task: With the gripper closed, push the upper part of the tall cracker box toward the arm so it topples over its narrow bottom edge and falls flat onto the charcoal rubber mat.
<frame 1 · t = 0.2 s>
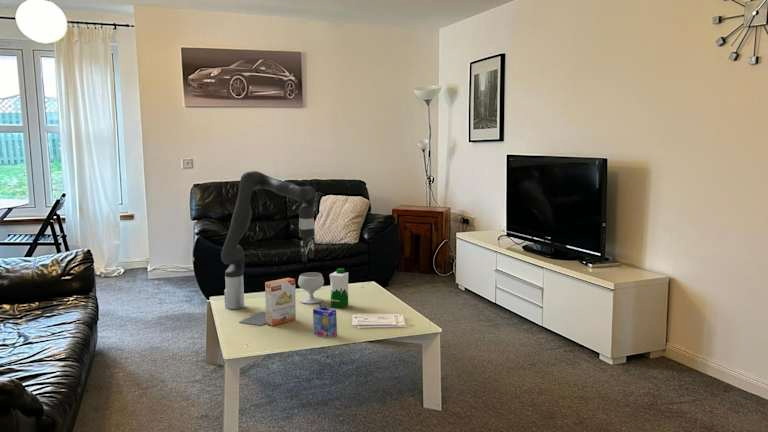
hand: (307, 259, 283), 30 cm above the table, fingers open, 8 cm apart
mat: (261, 319, 285), on the table
milk carton: (339, 306, 305), on the table
chalice: (311, 301, 316), on the table
cracker box: (281, 322, 280), on the table
ink cartridge box: (325, 335, 261), on the table
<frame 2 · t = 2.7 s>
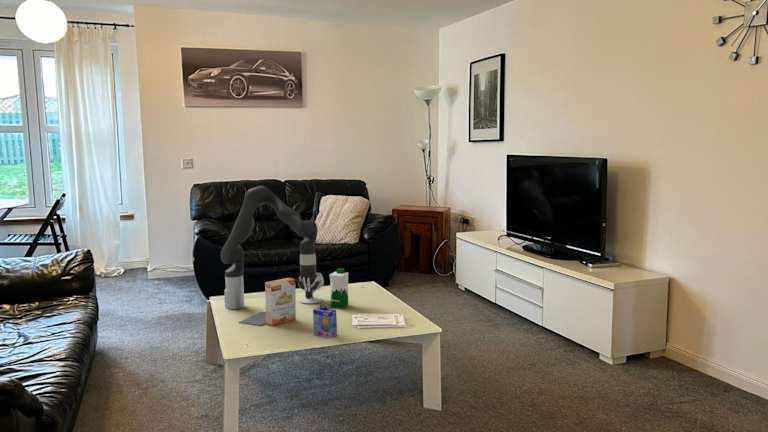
hand: (308, 298, 272), 14 cm above the table, fingers closed
nothing on the table moved.
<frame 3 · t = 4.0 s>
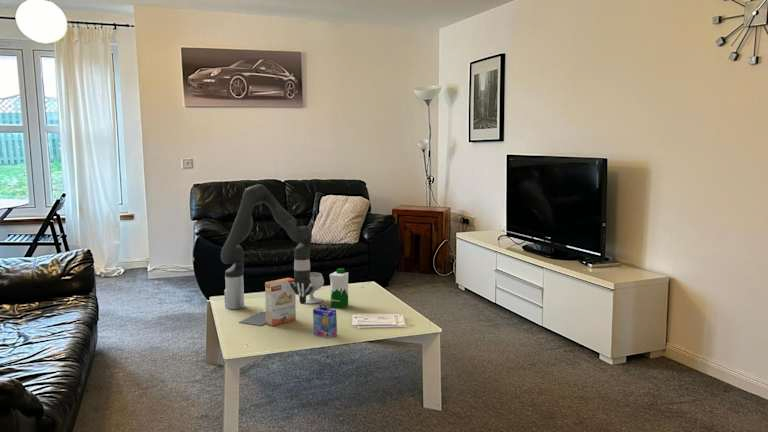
hand: (302, 303, 274), 11 cm above the table, fingers closed
nothing on the table moved.
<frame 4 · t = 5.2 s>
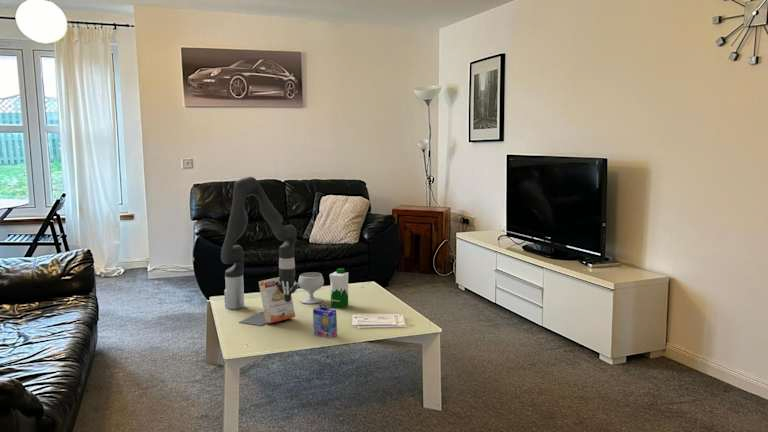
hand: (287, 301, 277), 11 cm above the table, fingers closed
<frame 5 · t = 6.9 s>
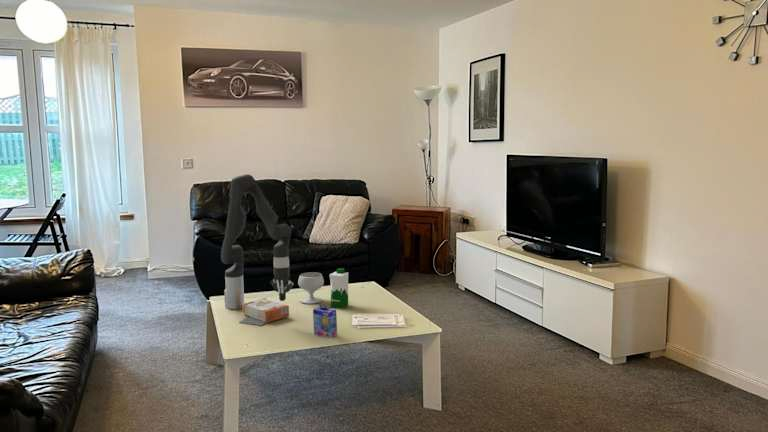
hand: (282, 300, 278), 11 cm above the table, fingers closed
cracker box: (278, 313, 281), point 4 cm above the table, touching mat
everything else where it was.
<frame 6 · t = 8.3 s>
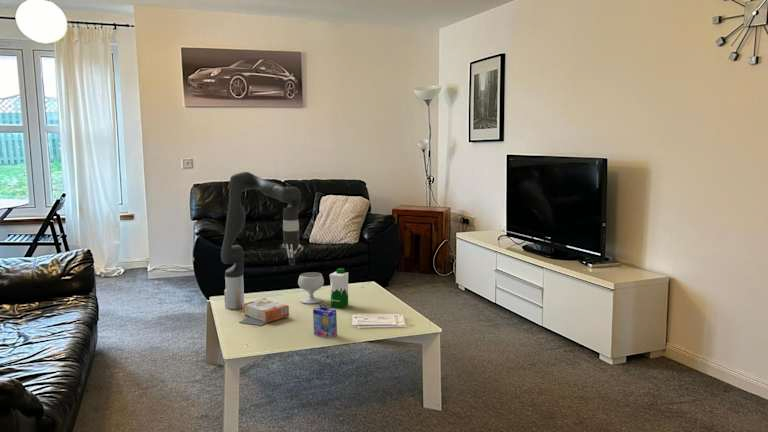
hand: (292, 265, 273), 29 cm above the table, fingers closed
nothing on the table moved.
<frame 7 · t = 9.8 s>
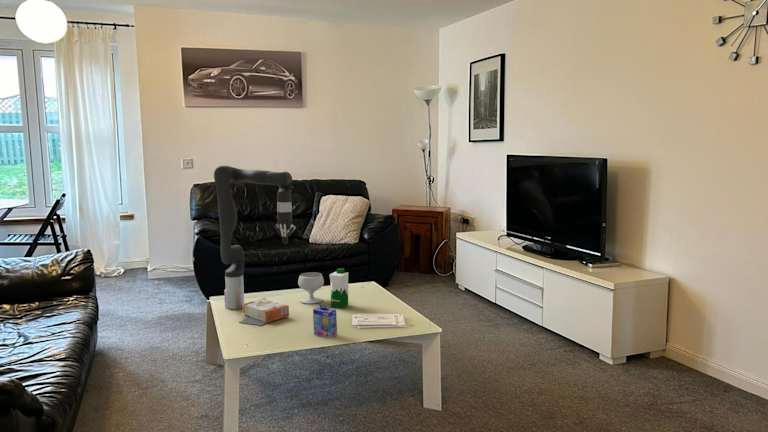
hand: (285, 243, 299), 35 cm above the table, fingers closed
nothing on the table moved.
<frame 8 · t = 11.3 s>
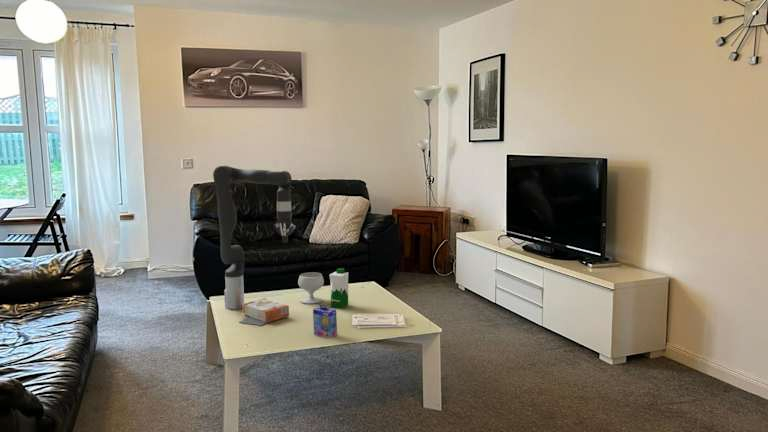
hand: (285, 242, 300), 35 cm above the table, fingers closed
nothing on the table moved.
at the end: cracker box tilted 91°; cracker box inside the target area (1.2 cm from its centre), point 3.6 cm above the table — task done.
